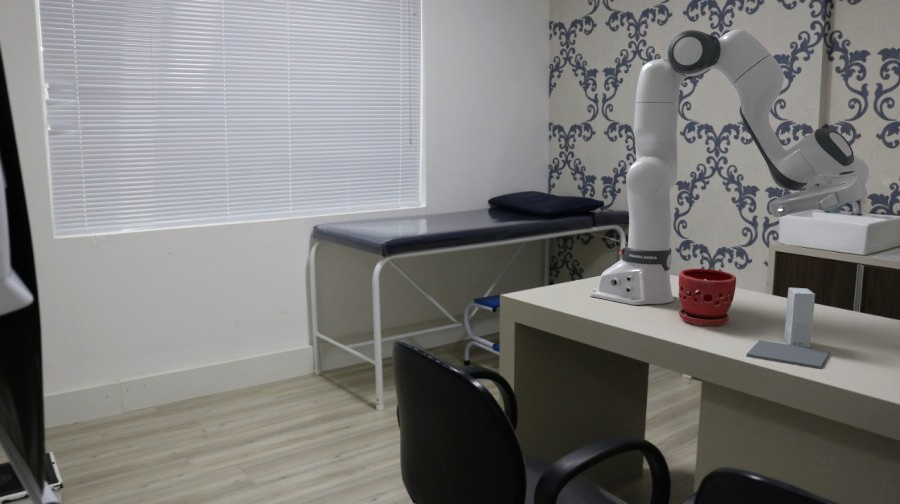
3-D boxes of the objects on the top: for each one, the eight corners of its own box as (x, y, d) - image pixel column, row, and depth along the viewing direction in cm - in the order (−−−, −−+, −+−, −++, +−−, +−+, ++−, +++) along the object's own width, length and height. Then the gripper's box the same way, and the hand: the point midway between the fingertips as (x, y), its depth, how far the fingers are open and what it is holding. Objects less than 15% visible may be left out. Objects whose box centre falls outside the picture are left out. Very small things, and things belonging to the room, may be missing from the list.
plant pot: (669, 323, 179) (671, 274, 177) (686, 312, 190) (688, 266, 188) (724, 332, 172) (728, 281, 170) (739, 319, 183) (742, 272, 180)
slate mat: (746, 356, 154) (746, 353, 154) (759, 342, 164) (759, 340, 164) (820, 368, 146) (820, 366, 146) (829, 353, 156) (829, 351, 156)
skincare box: (811, 348, 160) (815, 294, 158) (789, 347, 160) (794, 293, 158) (803, 340, 165) (808, 288, 163) (783, 339, 166) (787, 287, 164)
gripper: (781, 188, 183) (753, 205, 175) (866, 168, 166) (839, 186, 158) (789, 211, 184) (762, 230, 175) (875, 194, 167) (849, 214, 159)
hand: (799, 209), depth 167 cm, fingers open, 8 cm apart
